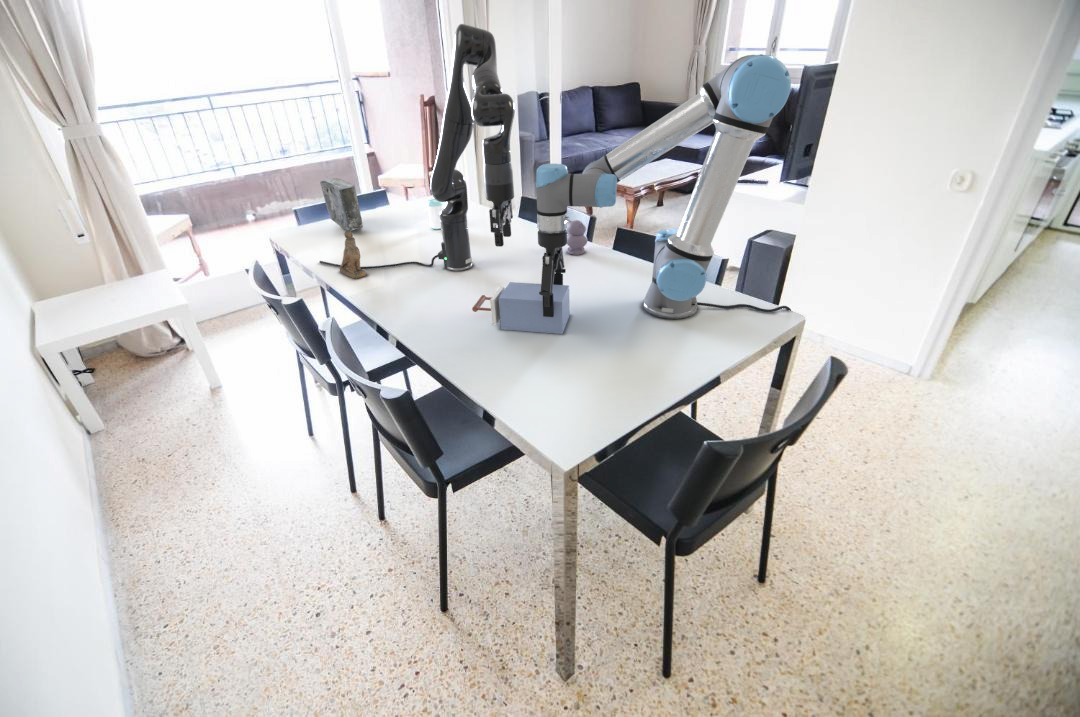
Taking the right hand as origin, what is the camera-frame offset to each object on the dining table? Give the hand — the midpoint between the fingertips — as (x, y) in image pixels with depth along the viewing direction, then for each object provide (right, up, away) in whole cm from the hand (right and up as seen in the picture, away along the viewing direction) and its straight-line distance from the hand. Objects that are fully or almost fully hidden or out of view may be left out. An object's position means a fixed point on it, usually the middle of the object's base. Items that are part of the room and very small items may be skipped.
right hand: (553, 305), depth 137 cm
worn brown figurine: (-71, +16, +41) cm, 84 cm away
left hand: (-14, +18, +1) cm, 23 cm away
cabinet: (-5, -4, +4) cm, 8 cm away
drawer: (-11, -3, +5) cm, 12 cm away
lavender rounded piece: (+10, +26, +53) cm, 60 cm away
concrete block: (-91, +45, +90) cm, 136 cm away
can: (-49, +44, +86) cm, 109 cm away
